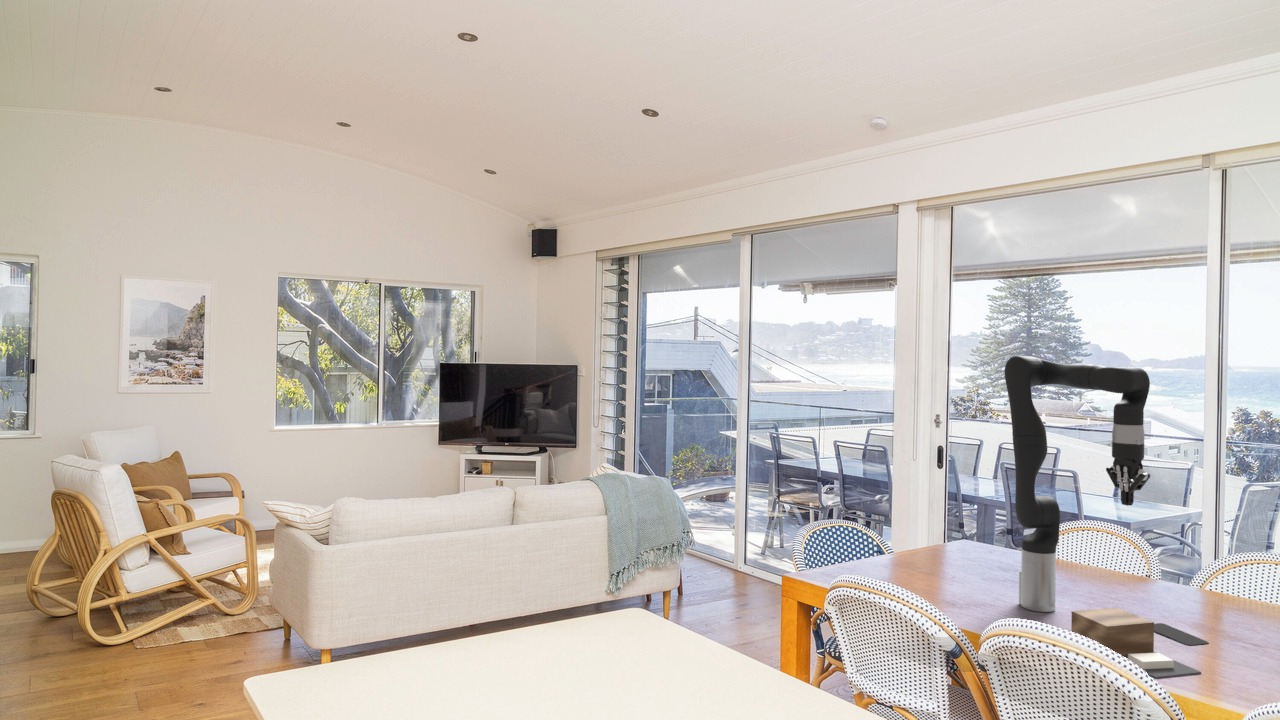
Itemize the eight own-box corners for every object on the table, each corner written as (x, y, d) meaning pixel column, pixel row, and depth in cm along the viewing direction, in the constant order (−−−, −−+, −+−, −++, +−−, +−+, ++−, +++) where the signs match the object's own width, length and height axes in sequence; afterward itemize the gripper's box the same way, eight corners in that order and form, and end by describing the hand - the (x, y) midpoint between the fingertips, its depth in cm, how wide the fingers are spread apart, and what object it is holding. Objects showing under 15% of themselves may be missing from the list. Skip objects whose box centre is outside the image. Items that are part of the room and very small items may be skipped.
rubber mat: (1112, 657, 204) (1112, 656, 204) (1155, 653, 207) (1155, 652, 207) (1155, 678, 191) (1155, 676, 191) (1201, 673, 194) (1201, 671, 194)
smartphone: (1188, 644, 212) (1140, 624, 227) (1187, 648, 212) (1140, 627, 227) (1211, 642, 214) (1162, 622, 228) (1210, 646, 214) (1162, 625, 229)
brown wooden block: (1071, 641, 215) (1071, 611, 215) (1115, 637, 218) (1116, 607, 218) (1107, 658, 204) (1107, 626, 203) (1153, 653, 207) (1154, 622, 207)
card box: (1142, 661, 195) (1142, 670, 195) (1173, 660, 196) (1173, 668, 196) (1128, 653, 200) (1128, 662, 200) (1158, 652, 201) (1157, 660, 201)
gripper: (1097, 438, 226) (1096, 501, 227) (1136, 444, 213) (1135, 510, 214) (1120, 438, 228) (1119, 499, 228) (1160, 443, 215) (1159, 509, 215)
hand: (1127, 504), depth 221 cm, fingers closed
